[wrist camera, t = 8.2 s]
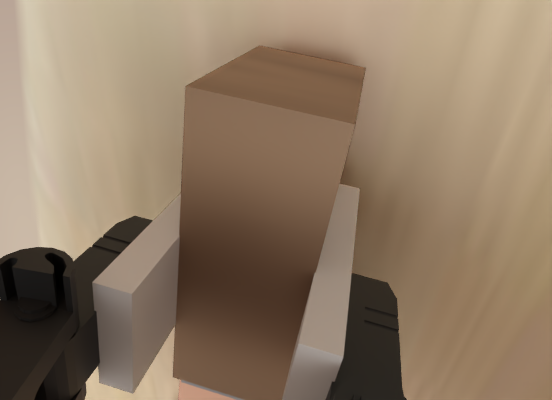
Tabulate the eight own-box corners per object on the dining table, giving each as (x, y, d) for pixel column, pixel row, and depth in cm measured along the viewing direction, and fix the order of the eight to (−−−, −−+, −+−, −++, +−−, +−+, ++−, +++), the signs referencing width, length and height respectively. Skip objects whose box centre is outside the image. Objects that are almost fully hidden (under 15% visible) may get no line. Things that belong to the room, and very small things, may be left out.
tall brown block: (310, 412, 18) (288, 543, 14) (185, 372, 19) (128, 487, 15) (421, 79, 11) (447, 144, 7) (209, 35, 12) (106, 68, 7)
